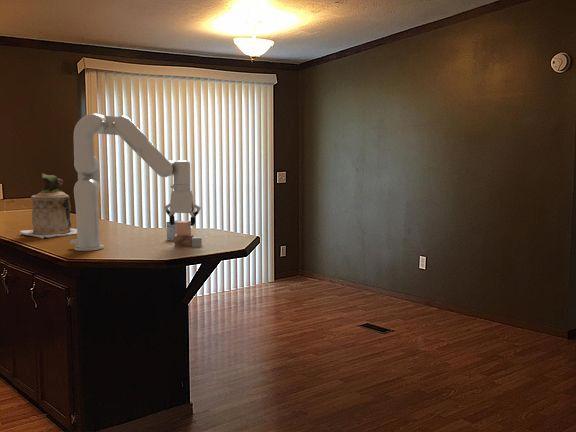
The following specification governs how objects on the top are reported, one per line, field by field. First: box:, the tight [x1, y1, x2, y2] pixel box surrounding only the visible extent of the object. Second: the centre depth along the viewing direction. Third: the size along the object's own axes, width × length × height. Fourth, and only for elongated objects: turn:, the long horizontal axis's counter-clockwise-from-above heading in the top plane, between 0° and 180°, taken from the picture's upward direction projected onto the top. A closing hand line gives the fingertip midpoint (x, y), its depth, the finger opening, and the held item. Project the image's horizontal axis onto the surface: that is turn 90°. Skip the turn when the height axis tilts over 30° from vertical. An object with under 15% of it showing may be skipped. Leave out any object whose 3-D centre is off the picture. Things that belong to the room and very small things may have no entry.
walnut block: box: [174, 232, 194, 247], centre depth 264 cm, size 8×8×5 cm
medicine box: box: [165, 219, 181, 241], centre depth 282 cm, size 8×4×9 cm, turn 149°
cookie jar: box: [19, 173, 77, 239], centre depth 302 cm, size 25×25×32 cm
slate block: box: [191, 236, 203, 248], centre depth 260 cm, size 4×4×4 cm
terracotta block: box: [176, 220, 192, 236], centre depth 264 cm, size 5×5×6 cm
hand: (182, 225), depth 263 cm, fingers open, 9 cm apart
